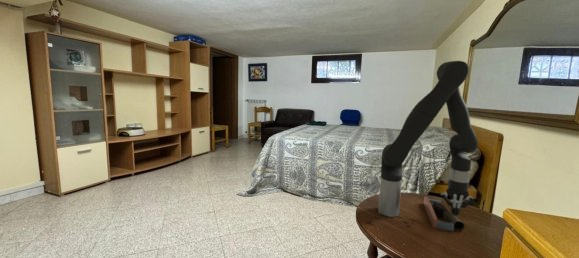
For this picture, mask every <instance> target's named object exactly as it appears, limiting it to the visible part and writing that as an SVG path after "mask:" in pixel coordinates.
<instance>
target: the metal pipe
mask: <svg viewBox="0 0 579 258" xmlns="http://www.w3.org/2000/svg"><path fill="white" fill-rule="evenodd" d="M432 208H433V210H434V212H435V214H436V217H437V219H438V218H439V219H440V218H441V219H444V220H445V222H450V223H453V224H454V230H456V231H462V230H464V228H465V227H466V226H465V222H463V221H462V220H461V219H460V218H458V217H457V216H455V215H453V214H452V213H451V210H450V211H449V209H447V208H446V206H445V204H443V203H437V202H434V204H433V205H432Z"/></svg>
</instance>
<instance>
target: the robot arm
mask: <svg viewBox="0 0 579 258" xmlns="http://www.w3.org/2000/svg"><path fill="white" fill-rule="evenodd" d="M469 73H470V66H469V64H468V63H467V62H465V61H463V60H452V61H451V60H450V61H446V62H445V61H444V62H443V63H442V64H441V65H439V67H437V71H436V77H437V81H438V82H437V83H436V85H435V86H434V87H433V89H431V91H429V92H428V94H426V96H424V97H423V98H422V99H420V100H419V101H418V102H417V103H416V105H415V106H414V107H413V108H412V110H411V111H410V113H409V114H408V115H407V117H406V118H405V121H404V122H403V125H402V127H401V130H400V131H399V134H398V136H397V137H396V139H394V140H393V142H392V143H389V144H387V145H385V147H384V148H383V149H382V153H381V162H380V163H381V165H380V183H379V196H378V209H377V210H378V214H381V215H383V216H385V217H390V218H392V217H393V218H394V217H396V218H397V217H398V216H399V215H400V208H401V207H400V206H401V195H402V194H401V193H402V184H403V183H402V182H403V163H405V160H406V159H407V157H408V155H409V153H410V152H411V150H412V148H413V147H414V145H415V143H417V141H418V140H419V139H420V138H421V136H422V135H423V134H424V132H425V131H426V130H427V129H428V128H429V126H430V125H431V124H432V122H434V119H436V117H437V116H438V114H439V113H440V111H441V110H442V108H443V107H444V106H445V105H446V107H447V113H448V118H449V124H450V129H451V130H452V132H454V133H455V134H453V135H452V136H451V138H450V139H449V152H450V153H449V154H450V157H451V162H450V169H449V173H448V183H447V188H446V190H445V192H440V196H441V197H442V198H443V200H444V201H445V202H446V204H447V205H448V207H450V212H451V213H452V214H453V215H455V216H456V217H457V216H459V215H460V209H461V208H463V209H465V208H466V207H468V206H469V205H470V204H472V203H473V202H474V201H475V198H473V197H472V196H471V195H470V193H469V187H470V180H471V167H472V166H471V165H472V159H471V158H470V157H469V156H467V154H466V153H468V154H469V153H470V154H471V153H474V152H475V151H476V150H477V149H478V146H479V140H478V138H477V137H478V136H477V135H476V133H475V131H474V129H473V127H472V126H471V120H470V119H471V118H470V113H469V110H468V107H467V105H466V102H465V100H464V99H463V95H462V94H461V90H460V86H461V85H462V84H464V82H465V81H466V79H468V76H469ZM448 196H449V198H450V200H451V201H450V200H449V199H448Z"/></svg>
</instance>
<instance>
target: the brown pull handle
mask: <svg viewBox="0 0 579 258" xmlns="http://www.w3.org/2000/svg"><path fill="white" fill-rule="evenodd" d="M434 202H437V203H442V200H440V199H431V198H429V197H428V196H424V199H423V205H424V209H425V211H426V213H427V215H428V218H429V219H428V220H429V221H430V224H431V226H432V228H433V229H438V230H444V231H448V232H454V230H455V229H454V224H453V223H450V222H447V221H444V220H438V217H436V214H435V212H434V210H433V206H432V205H433V204H434ZM442 204H443V203H442Z"/></svg>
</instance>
